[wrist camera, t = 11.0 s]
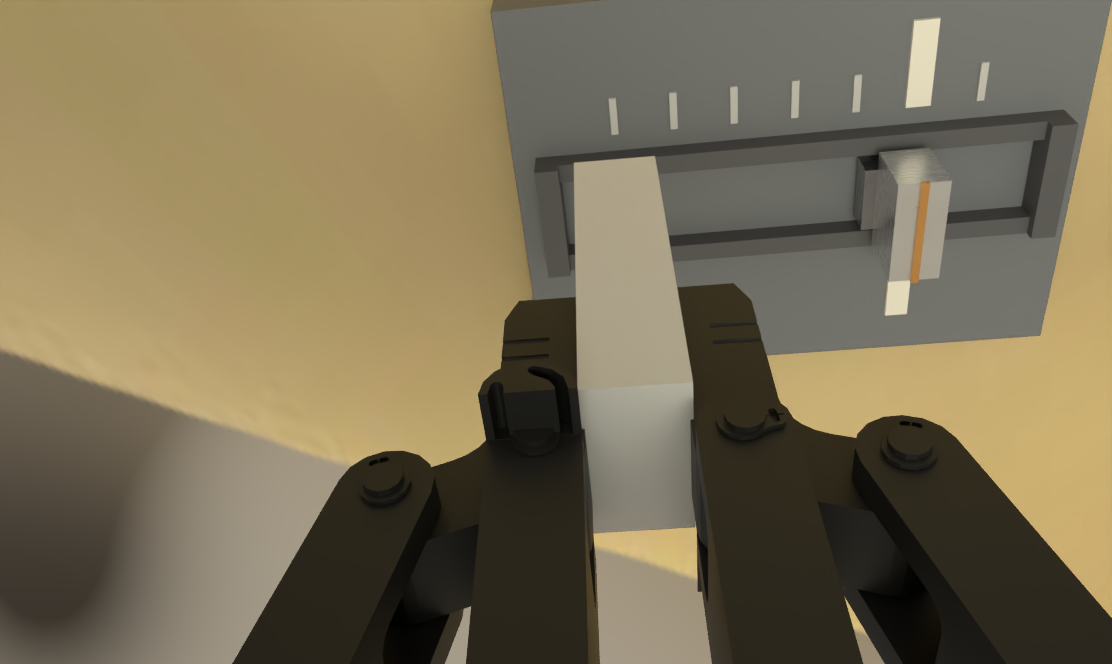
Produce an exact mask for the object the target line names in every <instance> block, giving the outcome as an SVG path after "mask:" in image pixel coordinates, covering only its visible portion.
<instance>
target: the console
mask: <svg viewBox="0 0 1112 664" xmlns="http://www.w3.org/2000/svg"><path fill="white" fill-rule="evenodd" d="M1111 2H1112V0H494V2H493V6H492V9H491V17H492V24H493V31H494V37H495V44H496V51H497V57H498V64H499V71H500V77H501V84H502V91H503V97H504V104H505V111H506V117H507V124H508V131H509V137H510V144H511V151H512V157H513V164H514V171H515V177H516V184H517V191H518V197H519V204H520V211H521V217H522V224H523V231H524V237H525V244H526V251H527V257H528V264H529V271H530V277H531V284H532V291H533V297H534V300H541V299H555V298H568V297H576V272H575V210H574V163H577V162H589V161H601V160H613V159H625V158H637V157H649V156H655V159H656V165H657V171H658V177H659V183H660V189H661V195H662V201H663V207H664V213H665V218H666V224H667V230H668V236H669V242H670V248H671V254H672V260H673V266H674V272H675V278H676V284H677V287H688V286H701V285H714V284H728V283H734V284H735V285H736V286H737V287H738V288H739V289H740V290H741V291H742V292H743V293H744V294H745V295H747V296H748V297H749V298H750V299H751V301H752V304H753V308H754V312H755V315H756V319H757V324H758V326H759V330H760V333H761V339H762V341H763V344H764V348H765V352H766V355H779V354H793V353H806V352H820V351H834V350H848V349H862V348H876V347H890V346H903V345H917V344H931V343H945V342H959V341H973V340H987V339H1000V338H1014V337H1028V336H1040V334H1041V330H1042V325H1043V320H1044V316H1045V311H1046V306H1047V302H1048V297H1049V292H1050V288H1051V283H1052V278H1053V273H1054V269H1055V264H1056V259H1057V255H1058V250H1059V245H1060V241H1061V236H1062V231H1063V227H1064V222H1065V217H1066V213H1067V208H1068V203H1069V199H1070V194H1071V189H1072V185H1073V180H1074V175H1075V170H1076V166H1077V161H1078V156H1079V152H1080V147H1081V142H1082V138H1083V133H1084V128H1085V124H1086V119H1087V114H1088V110H1089V105H1090V100H1091V96H1092V91H1093V86H1094V82H1095V77H1096V72H1097V67H1098V63H1099V58H1100V53H1101V49H1102V44H1103V39H1104V35H1105V30H1106V25H1107V21H1108V16H1109V11H1110V7H1111ZM920 148H930V149H931V150H932V152H933V153H934V155H935V156H936V158H937V159H938V161H939V162H940V164H941V165H942V167H943V168H944V170H945V171H946V172H947V174H948V175H949V177H950V178H951V180H952V185H951V192H950V200H949V207H948V215H947V222H946V229H945V237H944V244H943V252H942V259H941V267H940V274H939V278H934V279H921V280H919V283H911V282H910V280H908V281H895V282H889V281H888V279H887V277H886V275H885V273H884V271H883V269H882V267H881V265H880V262H879V260H878V258H877V256H876V254H875V252H874V250H873V248H872V245H871V243H872V232H873V229H868V230H861V229H860V227H859V225H858V223H857V221H856V219H855V216H854V214H853V208H854V194H855V180H856V166H857V156H867V155H879V152H886V151H897V150H908V149H920Z"/></svg>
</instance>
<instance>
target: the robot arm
mask: <svg viewBox="0 0 1112 664" xmlns="http://www.w3.org/2000/svg"><path fill="white" fill-rule="evenodd" d="M574 210H575V272H576V297H568V298H555V299H541V300H528V301H519V302H518V303H517V305H516V306H515V307H514V309H513V310H512V311H511V313H510V314H509V315H508V317H507V318H506V320H505V325H504V337H503V349H502V361H501V369H499V370H497V371H495V372H494V373H493V374H492V375H490V376H489V377H488V378H487V379H486V380H485V381H484V382H483V384H482V386H481V389H480V391H479V393H478V398H479V403H480V409H481V414H482V419H483V425H484V430H485V435H486V441H485V442H484V443H483V444H482V445H481V446H480V447H479V448H477V449H476V450H474V451H472V452H471V453H469V454H468V455H466V456H463V457H461V458H458V459H456V460H453V461H450V462H447V463H444V464H440V465H437V466H434V467H431V466H430V464H429V463H428V462H427V461H425V460H424V459H423V458H422V457H420V456H419V455H416V454H413V453H409V452H405V451H385V452H382V453H378V454H375V455H372V456H368V457H366V458H364V459H363V460H361V461H359V462H358V463H356V464H355V465H353V466H351V467H350V468H349V469H348V471H347V472H346V473H345V474H344V475H343V476H342V477H341V479H340V480H339V481H338V483H337V485H336V487H335V488H334V490H333V492H332V493H331V495H330V497H329V499H328V500H327V502H326V504H325V506H324V507H323V509H322V511H321V512H320V514H319V516H318V518H317V519H316V521H315V523H314V524H313V526H312V528H311V530H310V531H309V533H308V535H307V537H306V538H305V540H304V542H303V543H302V545H301V547H300V549H299V550H298V552H297V554H296V555H295V557H294V559H293V560H292V562H291V564H290V566H289V567H288V569H287V571H286V572H285V574H284V576H283V578H282V580H281V581H280V583H279V584H278V586H277V588H276V590H275V591H274V593H273V595H272V597H271V598H270V600H269V602H268V603H267V605H266V607H265V608H264V610H263V612H262V614H261V615H260V617H259V619H258V620H257V622H256V624H255V626H254V627H253V629H252V631H251V632H250V634H249V636H248V638H247V640H246V641H245V643H244V645H243V646H242V648H241V650H240V652H239V653H238V655H237V657H236V658H235V660H234V662H233V663H232V664H445V661H446V659H447V656H448V654H449V651H450V649H451V646H452V643H453V641H454V638H455V636H456V633H457V630H458V628H459V625H460V623H461V620H462V616H463V610H464V608H467V607H470V606H471V615H470V626H469V638H468V648H467V659H466V664H600V659H599V658H600V656H599V629H598V602H597V574H596V558H595V548H594V537H593V533H605V532H622V531H639V530H656V529H672V528H689V527H695V521H696V528H697V571H698V592H701V591H702V593H703V601H704V608H705V616H706V623H707V630H708V638H709V645H710V652H711V659H712V664H863V662H862V658H861V654H860V651H859V647H858V643H857V640H856V637H855V634H854V629H853V626H852V622H851V619H850V615H849V612H848V608H847V605H846V601H845V598H846V600H847V601H848V603H849V605H850V606H851V608H852V610H853V611H854V613H855V615H856V616H857V618H858V620H859V621H860V623H861V625H862V626H863V628H864V630H865V631H866V633H867V635H868V636H869V638H870V640H871V641H872V643H873V645H874V646H875V648H876V650H877V651H878V653H879V655H880V656H881V658H882V659H883V661H884V663H885V664H1112V618H1111V617H1110V616H1109V615H1108V613H1107V612H1106V611H1105V610H1104V609H1103V608H1102V606H1101V605H1100V604H1099V603H1098V602H1097V601H1096V599H1095V598H1094V597H1093V596H1092V595H1091V594H1090V593H1089V591H1088V590H1087V589H1086V588H1085V587H1084V586H1083V584H1082V583H1081V582H1080V581H1079V580H1078V579H1077V577H1076V576H1075V575H1074V574H1073V573H1072V572H1071V571H1070V569H1069V568H1068V567H1067V566H1066V565H1065V564H1064V562H1063V561H1062V560H1061V559H1060V558H1059V557H1058V555H1057V554H1056V553H1055V552H1054V551H1053V550H1052V548H1051V547H1050V546H1049V545H1048V544H1047V543H1046V542H1045V540H1044V539H1043V538H1042V537H1041V536H1040V535H1039V533H1038V532H1037V531H1036V530H1035V529H1034V528H1033V526H1032V525H1031V524H1030V523H1029V522H1028V521H1027V520H1026V518H1025V517H1024V516H1023V515H1022V514H1021V513H1020V511H1019V510H1018V509H1017V508H1016V507H1015V506H1014V504H1013V503H1012V502H1011V501H1010V500H1009V499H1008V497H1007V496H1006V495H1005V494H1004V493H1003V492H1002V491H1001V489H1000V488H999V487H998V486H997V485H996V484H995V482H994V481H993V480H992V479H991V478H990V477H989V475H988V474H987V473H986V472H985V471H984V470H983V469H982V467H981V466H980V465H979V464H978V463H977V462H976V460H975V459H974V458H973V457H972V456H971V455H970V453H969V452H968V451H967V450H966V449H965V448H964V446H963V445H962V444H961V443H960V442H959V441H958V440H957V438H956V437H954V436H953V435H952V434H951V433H949V432H948V431H947V430H946V429H944V428H943V427H942V426H940V425H937V424H935V423H933V422H930V421H928V420H926V419H923V418H917V417H910V416H904V415H900V416H889V417H882V418H880V419H877V420H875V421H872V422H870V423H868V424H867V425H866V426H865V427H864V428H863V429H862V430H861V431H860V432H859V433H858V434H857V438H852V437H846V436H840V435H834V434H829V433H825V432H821V431H817V430H814V429H812V428H809V427H807V426H805V425H803V424H801V423H799V422H798V421H796V420H795V419H794V418H793V417H792V415H791V414H790V412H789V410H788V409H787V408H786V407H785V406H784V405H782V404H781V403H780V401H779V399H778V395H777V392H776V388H775V384H774V381H773V377H772V373H771V370H770V366H769V362H768V359H767V355H766V352H765V348H764V344H763V341H762V339H761V333H760V330H759V326H758V324H757V319H756V315H755V312H754V308H753V304H752V301H751V299H750V298H749V297H748V296H747V295H745V294H744V293H743V292H742V291H741V290H740V289H739V288H738V287H737V286H736V285H735V284H734V283H728V284H714V285H701V286H688V287H677V284H676V278H675V272H674V266H673V260H672V254H671V248H670V242H669V236H668V230H667V224H666V218H665V213H664V207H663V201H662V195H661V189H660V183H659V177H658V171H657V165H656V159H655V156H649V157H637V158H625V159H613V160H601V161H589V162H577V163H574ZM844 596H845V598H844Z"/></svg>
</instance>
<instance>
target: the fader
mask: <svg viewBox="0 0 1112 664" xmlns="http://www.w3.org/2000/svg"><path fill="white" fill-rule="evenodd" d="M951 185H952V180H951V178H950V177H949V175H948V174H947V172H946V171H945V170H944V168H943V167H942V165H941V164H940V162H939V161H938V159H937V158H936V156H935V155H934V153H933V152H932V150H931V149H930V148H920V149H908V150H897V151H886V152H879V155H867V156H857V166H856V180H855V194H854V208H853V214H854V216H855V219H856V221H857V223H858V225H859V227H860V229H861V230H868V229H873V232H872V243H871V245H872V248H873V250H874V252H875V254H876V256H877V258H878V260H879V262H880V265H881V267H882V269H883V271H884V273H885V275H886V277H887V279H888V281H889V282H895V281H908V280H910V282H911V283H919V280H921V279H934V278H939V274H940V267H941V259H942V252H943V244H944V237H945V229H946V222H947V215H948V207H949V200H950V192H951Z"/></svg>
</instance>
